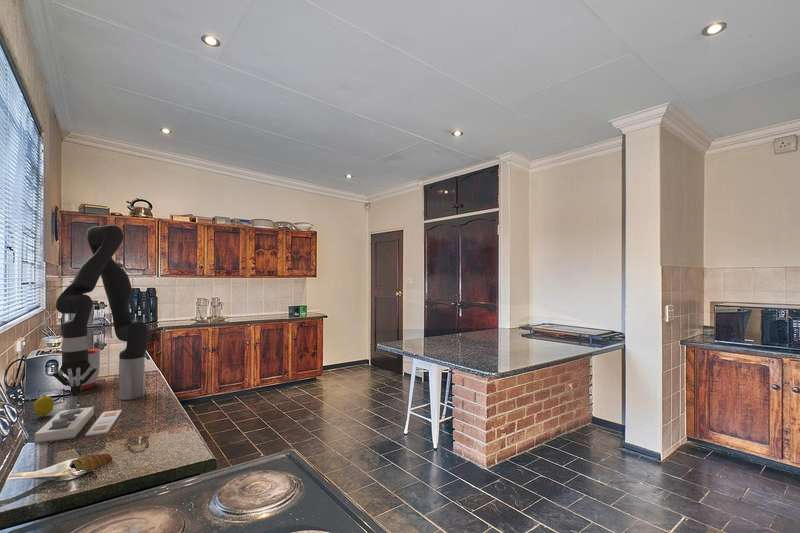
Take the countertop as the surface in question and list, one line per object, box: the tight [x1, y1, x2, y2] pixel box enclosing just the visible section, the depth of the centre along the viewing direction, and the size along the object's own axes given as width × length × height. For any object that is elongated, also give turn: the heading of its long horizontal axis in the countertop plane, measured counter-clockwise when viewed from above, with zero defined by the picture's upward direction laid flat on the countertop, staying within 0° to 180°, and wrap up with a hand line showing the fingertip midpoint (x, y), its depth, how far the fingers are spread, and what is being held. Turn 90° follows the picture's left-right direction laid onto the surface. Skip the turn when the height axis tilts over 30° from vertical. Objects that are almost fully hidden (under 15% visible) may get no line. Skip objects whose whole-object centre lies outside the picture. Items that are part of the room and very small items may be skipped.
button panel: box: [34, 406, 95, 444], centre depth 138 cm, size 10×23×3 cm, turn 25°
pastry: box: [68, 453, 113, 473], centre depth 110 cm, size 9×7×4 cm
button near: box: [52, 418, 68, 430], centre depth 132 cm, size 4×4×3 cm
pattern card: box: [85, 409, 123, 437], centre depth 143 cm, size 6×23×1 cm, turn 25°
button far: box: [67, 408, 81, 414], centre depth 145 cm, size 4×4×3 cm
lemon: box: [33, 395, 55, 418], centre depth 149 cm, size 6×6×8 cm
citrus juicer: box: [81, 348, 101, 391], centre depth 184 cm, size 16×17×20 cm
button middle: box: [60, 411, 75, 421], centre depth 138 cm, size 4×4×3 cm
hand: (76, 395), depth 145 cm, fingers closed
